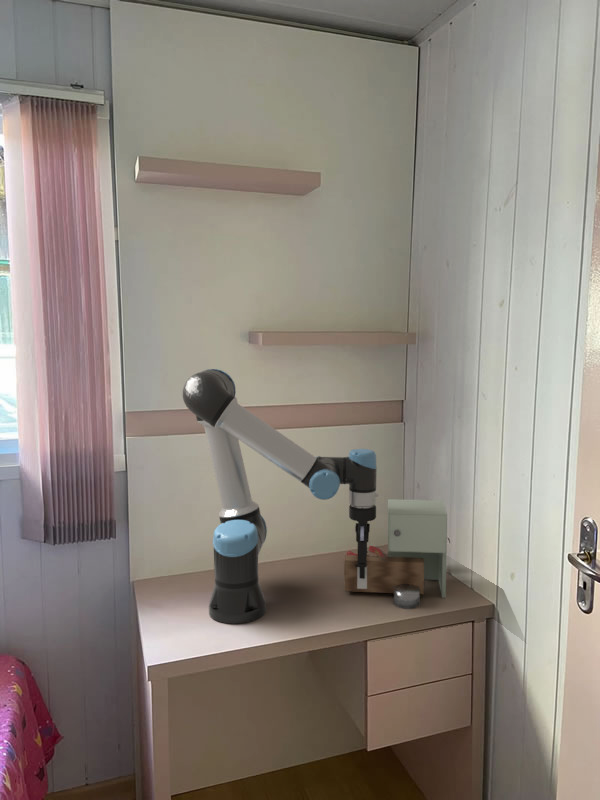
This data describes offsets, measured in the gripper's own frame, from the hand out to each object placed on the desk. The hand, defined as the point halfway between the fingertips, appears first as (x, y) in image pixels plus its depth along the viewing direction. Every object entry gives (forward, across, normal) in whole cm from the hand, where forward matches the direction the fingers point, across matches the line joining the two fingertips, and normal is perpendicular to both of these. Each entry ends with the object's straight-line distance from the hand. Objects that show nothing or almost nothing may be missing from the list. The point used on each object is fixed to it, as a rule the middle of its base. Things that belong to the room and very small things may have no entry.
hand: (362, 584), depth 184 cm
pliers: (+3, +24, -2) cm, 25 cm away
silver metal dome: (+2, -5, -12) cm, 14 cm away
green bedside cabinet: (+2, +6, -15) cm, 16 cm away
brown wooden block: (+1, 0, -6) cm, 6 cm away
